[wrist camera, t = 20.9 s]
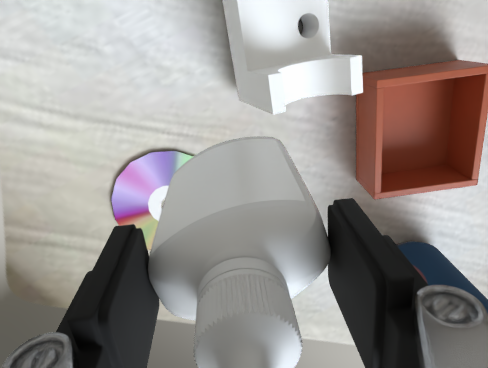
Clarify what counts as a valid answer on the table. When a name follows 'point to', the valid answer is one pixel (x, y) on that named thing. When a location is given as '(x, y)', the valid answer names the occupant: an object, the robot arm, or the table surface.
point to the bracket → (286, 53)
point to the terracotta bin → (421, 128)
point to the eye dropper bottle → (239, 252)
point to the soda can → (438, 268)
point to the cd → (145, 190)
